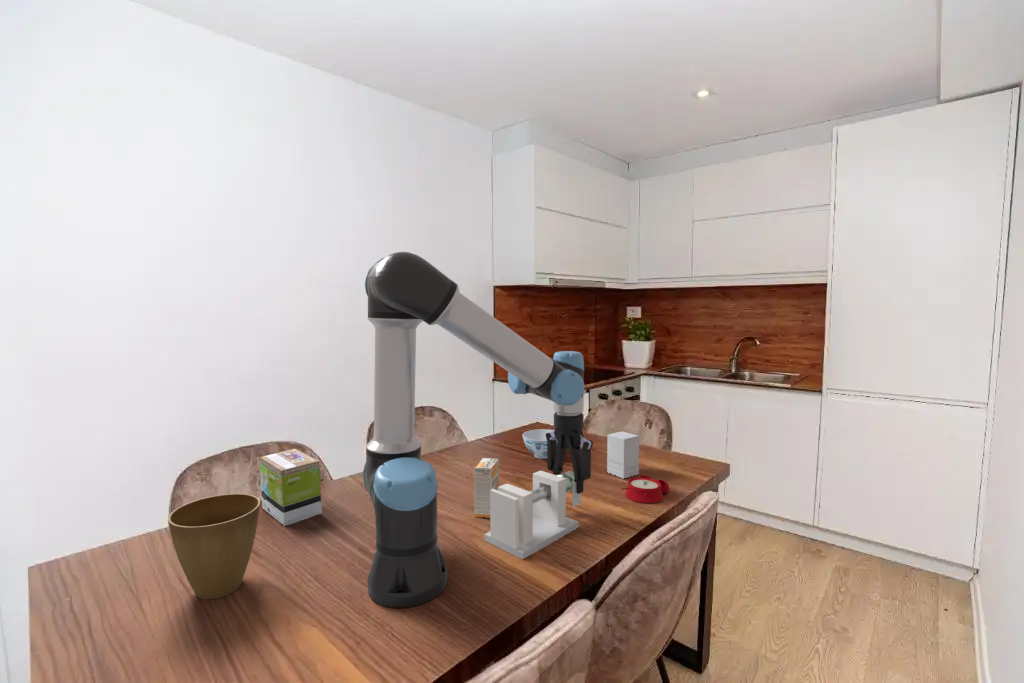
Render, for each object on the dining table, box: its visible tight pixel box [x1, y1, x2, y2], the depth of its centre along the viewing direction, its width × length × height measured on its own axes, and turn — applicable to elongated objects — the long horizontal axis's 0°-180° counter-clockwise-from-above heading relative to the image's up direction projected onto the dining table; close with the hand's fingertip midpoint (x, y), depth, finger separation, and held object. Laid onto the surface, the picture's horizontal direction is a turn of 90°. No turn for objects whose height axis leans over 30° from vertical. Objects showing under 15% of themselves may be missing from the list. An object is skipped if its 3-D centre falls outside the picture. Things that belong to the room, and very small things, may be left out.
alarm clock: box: [621, 474, 670, 504], centre depth 136 cm, size 10×6×15 cm
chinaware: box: [522, 428, 558, 460], centre depth 171 cm, size 15×15×8 cm
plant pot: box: [167, 493, 261, 600], centre depth 92 cm, size 15×15×16 cm
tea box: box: [258, 448, 323, 527], centre depth 126 cm, size 15×10×15 cm, turn 47°
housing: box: [484, 470, 580, 560], centre depth 113 cm, size 20×12×12 cm, turn 136°
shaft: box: [528, 470, 575, 504], centre depth 115 cm, size 23×5×5 cm, turn 136°
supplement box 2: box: [606, 430, 640, 479], centre depth 153 cm, size 7×7×13 cm
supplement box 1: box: [473, 457, 500, 519], centre depth 126 cm, size 8×5×13 cm, turn 168°
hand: (568, 501), depth 123 cm, fingers closed on shaft, 5 cm apart
